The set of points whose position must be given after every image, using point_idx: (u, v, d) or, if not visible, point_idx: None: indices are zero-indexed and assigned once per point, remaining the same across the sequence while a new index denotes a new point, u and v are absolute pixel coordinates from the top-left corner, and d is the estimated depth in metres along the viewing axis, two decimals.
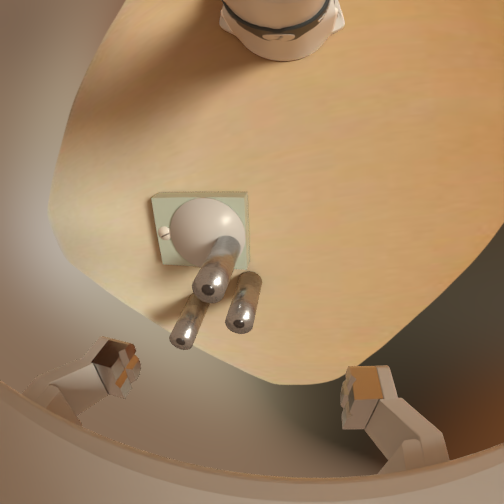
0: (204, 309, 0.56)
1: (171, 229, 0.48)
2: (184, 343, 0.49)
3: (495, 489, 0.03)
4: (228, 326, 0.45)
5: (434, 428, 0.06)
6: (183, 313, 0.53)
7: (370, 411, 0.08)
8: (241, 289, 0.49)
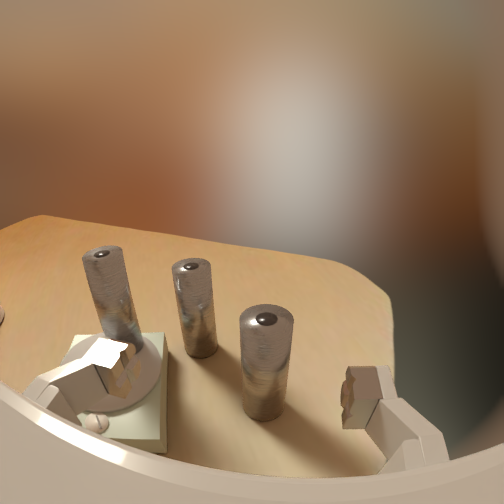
0: None
1: None
2: (268, 313, 0.24)
3: (495, 489, 0.03)
4: (198, 272, 0.31)
5: (434, 428, 0.06)
6: (246, 375, 0.24)
7: (370, 411, 0.08)
8: (179, 317, 0.34)
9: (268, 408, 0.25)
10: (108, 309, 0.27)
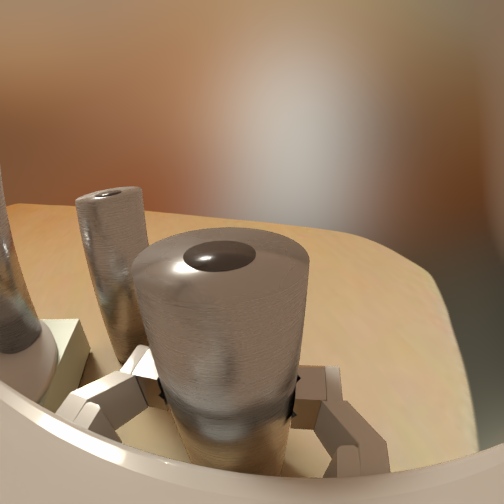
0: None
1: None
2: (229, 242, 0.08)
3: (495, 489, 0.03)
4: (112, 198, 0.15)
5: (378, 436, 0.06)
6: (177, 423, 0.08)
7: (315, 412, 0.08)
8: None
9: None
10: None
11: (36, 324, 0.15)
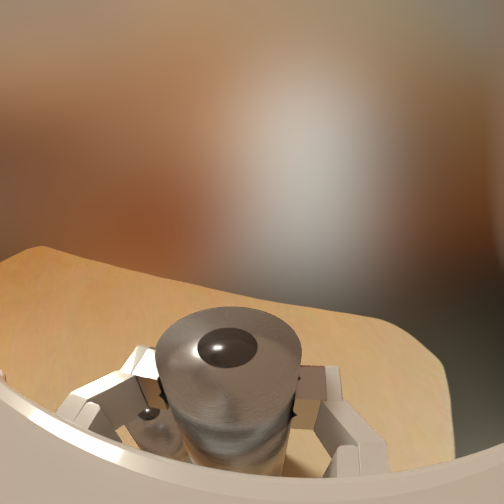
0: None
1: None
2: (235, 331, 0.09)
3: (495, 489, 0.03)
4: None
5: (378, 436, 0.06)
6: (192, 459, 0.09)
7: (315, 412, 0.08)
8: None
9: None
10: None
11: None
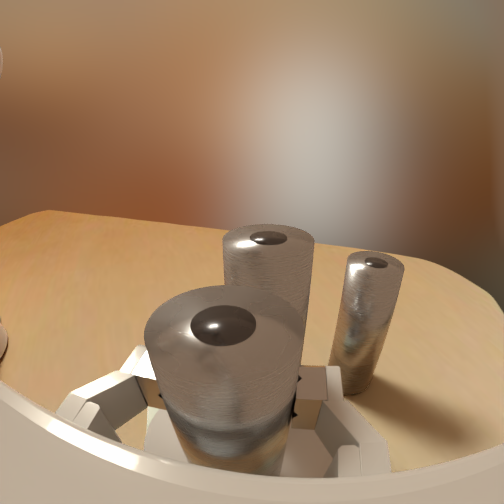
0: None
1: None
2: (232, 308, 0.08)
3: (495, 489, 0.03)
4: (398, 272, 0.18)
5: (379, 435, 0.06)
6: (185, 453, 0.09)
7: (316, 412, 0.08)
8: (342, 342, 0.21)
9: None
10: None
11: None
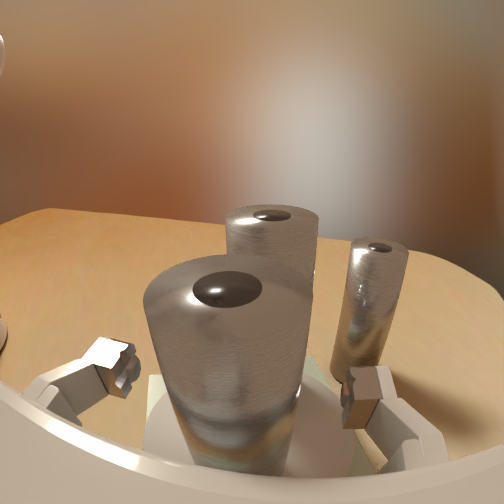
0: None
1: None
2: (236, 274, 0.08)
3: (495, 489, 0.03)
4: (402, 256, 0.18)
5: (434, 428, 0.06)
6: (185, 438, 0.08)
7: (370, 411, 0.08)
8: (346, 329, 0.21)
9: None
10: None
11: None
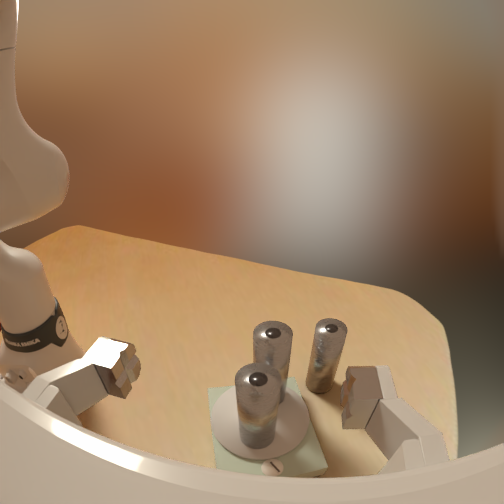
0: None
1: (261, 456, 0.28)
2: (260, 373, 0.26)
3: (495, 489, 0.03)
4: (341, 335, 0.36)
5: (434, 428, 0.06)
6: (241, 418, 0.27)
7: (370, 411, 0.08)
8: (312, 365, 0.39)
9: (260, 441, 0.28)
10: None
11: None
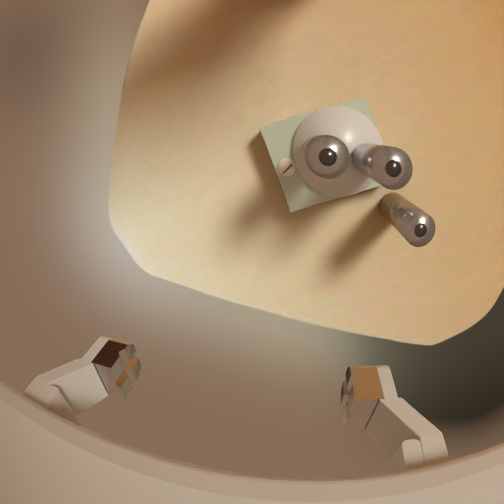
0: None
1: (295, 157, 0.38)
2: (335, 158, 0.26)
3: (495, 489, 0.03)
4: (409, 239, 0.32)
5: (434, 428, 0.06)
6: (309, 140, 0.31)
7: (370, 411, 0.08)
8: (397, 202, 0.36)
9: None
10: (363, 167, 0.31)
11: None
